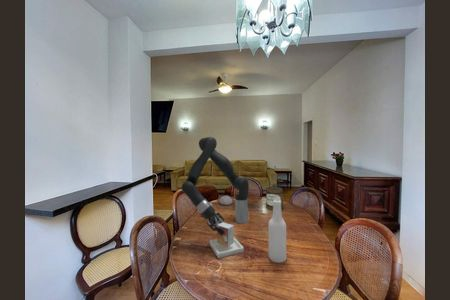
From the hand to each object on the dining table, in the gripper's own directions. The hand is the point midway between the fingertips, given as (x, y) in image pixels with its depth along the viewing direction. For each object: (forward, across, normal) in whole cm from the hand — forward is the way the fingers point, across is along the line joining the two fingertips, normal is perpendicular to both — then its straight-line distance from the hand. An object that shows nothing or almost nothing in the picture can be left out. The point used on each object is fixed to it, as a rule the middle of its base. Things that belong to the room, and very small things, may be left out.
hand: (224, 231), depth 110 cm
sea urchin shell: (-11, +78, +25) cm, 82 cm away
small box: (+5, 0, +4) cm, 7 cm away
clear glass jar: (+22, +78, -9) cm, 81 cm away
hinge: (-14, +47, +28) cm, 57 cm away
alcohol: (+27, -1, -14) cm, 31 cm away
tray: (+7, 0, +6) cm, 10 cm away
